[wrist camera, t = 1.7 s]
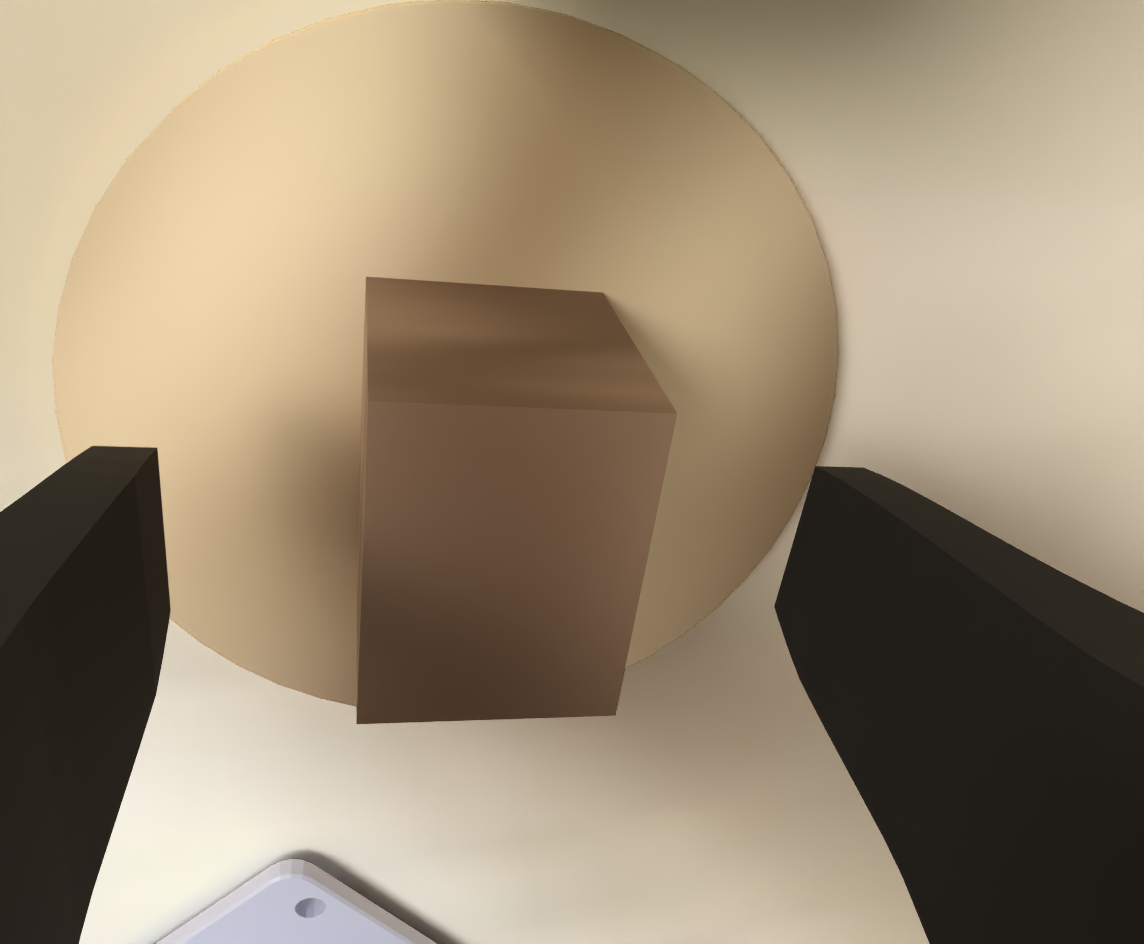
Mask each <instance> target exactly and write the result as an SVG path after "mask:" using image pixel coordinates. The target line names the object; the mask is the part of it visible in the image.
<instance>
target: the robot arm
mask: <svg viewBox="0 0 1144 944" xmlns="http://www.w3.org/2000/svg"><path fill="white" fill-rule="evenodd" d="M774 607H775V610H776V613H777V616H778V619H779V622H780V625H781V628H782V632H783V635H784V638H785V641H786V644H787V647H788V649H789V652H790V655H791V657H792V660H793V663H794V665H795V668H796V671H797V673H798V676H799V679H800V681H801V683H802V685H803V687H804V689H805V691H806V693H807V695H808V697H809V699H810V700H811V702H812V704H813V706H814V708H815V710H816V712H817V714H818V716H819V718H820V720H821V722H822V723H823V725H824V727H825V729H826V731H827V733H828V735H829V737H830V739H831V741H832V742H833V744H834V746H835V748H836V750H837V752H838V754H839V755H840V757H841V759H842V761H843V763H844V765H845V767H846V768H847V770H848V772H849V774H850V776H851V778H852V780H853V781H854V783H855V785H856V787H857V789H858V791H859V793H860V795H861V796H862V798H863V800H864V802H865V804H866V806H867V808H868V809H869V811H870V813H871V815H872V817H873V819H874V821H875V823H876V824H877V826H878V828H879V830H880V832H881V834H882V836H883V837H884V839H885V841H886V843H887V846H888V848H889V850H890V852H891V854H892V856H893V858H894V860H895V862H896V864H897V866H898V868H899V870H900V873H901V875H902V877H903V879H904V882H905V884H906V886H907V889H908V891H909V894H910V896H911V899H912V901H913V904H914V906H915V909H916V911H917V914H918V916H919V918H920V921H921V923H922V926H923V928H924V931H925V933H926V936H927V938H928V941H929V943H930V944H1144V613H1142V612H1140V611H1138V610H1136V609H1134V608H1132V607H1130V606H1127V605H1125V604H1123V603H1121V602H1119V601H1117V600H1115V599H1113V598H1111V597H1109V596H1107V595H1105V594H1103V593H1101V592H1099V591H1097V590H1095V589H1093V588H1091V587H1089V586H1087V585H1085V584H1083V583H1081V582H1079V581H1077V580H1076V579H1074V578H1072V577H1070V576H1068V575H1066V574H1064V573H1062V572H1060V571H1058V570H1056V569H1054V568H1052V567H1051V566H1049V565H1047V564H1045V563H1043V562H1041V561H1039V560H1037V559H1036V558H1034V557H1032V556H1030V555H1028V554H1026V553H1025V552H1023V551H1021V550H1019V549H1017V548H1015V547H1014V546H1012V545H1010V544H1008V543H1006V542H1005V541H1003V540H1001V539H999V538H997V537H996V536H994V535H992V534H990V533H988V532H987V531H985V530H983V529H981V528H980V527H978V526H976V525H974V524H972V523H971V522H969V521H967V520H965V519H964V518H962V517H960V516H958V515H956V514H955V513H953V512H951V511H949V510H947V509H946V508H944V507H942V506H940V505H938V504H937V503H935V502H933V501H931V500H929V499H928V498H926V497H924V496H922V495H920V494H918V493H916V492H914V491H912V490H911V489H909V488H907V487H905V486H903V485H901V484H899V483H897V482H895V481H893V480H891V479H889V478H887V477H884V476H882V475H880V474H878V473H875V472H873V471H870V470H868V469H865V468H855V467H820V466H815V469H814V473H813V476H812V480H811V483H810V487H809V490H808V493H807V497H806V500H805V504H804V507H803V510H802V514H801V517H800V521H799V524H798V528H797V531H796V534H795V538H794V541H793V545H792V548H791V551H790V555H789V558H788V562H787V565H786V569H785V572H784V575H783V579H782V582H781V586H780V589H779V592H778V596H777V599H776V603H775V606H774ZM170 611H171V608H170V596H169V584H168V572H167V559H166V547H165V535H164V523H163V510H162V498H161V486H160V474H159V461H158V449H157V448H152V447H117V446H91V447H90V448H88V449H86V450H85V451H83V452H82V453H80V454H79V455H77V456H76V457H75V458H73V459H72V460H70V461H69V462H68V463H66V464H65V465H64V466H62V467H61V468H60V469H58V470H57V471H56V472H54V473H53V474H51V475H50V476H49V477H47V478H46V479H45V480H43V481H42V482H41V483H39V484H38V485H37V486H35V487H34V488H33V489H31V490H30V491H29V492H27V493H26V494H25V495H23V496H22V497H21V498H19V499H18V500H17V501H15V502H14V503H12V504H11V505H10V506H8V507H7V508H5V509H4V510H3V511H1V512H0V944H79V940H80V936H81V932H82V928H83V925H84V921H85V917H86V914H87V910H88V907H89V903H90V899H91V896H92V892H93V889H94V886H95V882H96V879H97V876H98V873H99V870H100V867H101V864H102V861H103V858H104V855H105V852H106V849H107V846H108V842H109V839H110V836H111V833H112V830H113V827H114V824H115V821H116V818H117V815H118V812H119V809H120V805H121V802H122V799H123V796H124V793H125V790H126V787H127V784H128V781H129V778H130V775H131V772H132V769H133V765H134V762H135V759H136V756H137V753H138V750H139V747H140V744H141V740H142V737H143V734H144V731H145V728H146V725H147V722H148V718H149V715H150V712H151V709H152V705H153V702H154V699H155V696H156V691H157V686H158V681H159V675H160V670H161V664H162V659H163V653H164V647H165V641H166V635H167V629H168V623H169V617H170ZM156 944H437V943H435V942H434V941H432V940H431V939H429V938H427V937H426V936H424V935H423V934H421V933H420V932H418V931H417V930H415V929H413V928H412V927H410V926H409V925H407V924H406V923H404V922H403V921H401V920H399V919H398V918H396V917H395V916H393V915H392V914H390V913H389V912H387V911H385V910H384V909H382V908H381V907H379V906H378V905H376V904H374V903H373V902H371V901H370V900H368V899H367V898H365V897H364V896H362V895H360V894H359V893H357V892H356V891H354V890H353V889H351V888H350V887H348V886H346V885H345V884H343V883H342V882H340V881H339V880H337V879H336V878H334V877H332V876H331V875H329V874H328V873H326V872H325V871H323V870H321V869H320V868H318V867H317V866H315V865H314V864H312V863H309V862H307V861H305V860H301V859H288V860H282V861H280V862H278V863H275V864H273V865H271V866H270V867H268V868H267V869H265V870H264V871H262V872H261V873H259V874H258V875H256V876H255V877H253V878H252V879H250V880H249V881H247V882H246V883H244V884H243V885H242V886H240V887H239V888H237V889H236V890H234V891H233V892H231V893H230V894H228V895H227V896H225V897H224V898H222V899H221V900H219V901H218V902H216V903H215V904H213V905H212V906H210V907H209V908H207V909H206V910H204V911H203V912H202V913H200V914H199V915H197V916H196V917H194V918H193V919H191V920H190V921H188V922H187V923H185V924H184V925H182V926H181V927H179V928H178V929H176V930H175V931H173V932H172V933H170V934H169V935H167V936H166V937H164V938H163V939H161V940H160V941H159V942H157V943H156Z"/></svg>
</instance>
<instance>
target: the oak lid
mask: <svg viewBox="0 0 1144 944" xmlns="http://www.w3.org/2000/svg"><path fill="white" fill-rule="evenodd" d="M837 363H838V337H837V317H836V306H835V301H834V295H833V290H832V285H831V280H830V275H829V270H828V264H827V261H826V259H825V256H824V253H823V250H822V247H821V244H820V241H819V239H818V236H817V233H816V230H815V227H814V224H813V221H812V219H811V217H810V215H809V213H808V211H807V209H806V207H805V206H804V204H803V202H802V200H801V198H800V196H799V194H798V192H797V190H796V188H795V186H794V185H793V183H792V181H791V179H790V177H789V175H788V174H787V173H786V171H785V170H784V169H783V167H782V166H781V165H780V163H779V162H778V160H777V159H776V158H775V156H774V155H773V154H772V152H771V151H770V149H769V148H768V147H767V145H766V144H765V143H764V141H763V140H762V138H761V137H760V136H759V135H758V134H757V133H756V132H755V131H754V130H753V129H752V128H751V127H750V126H749V125H748V124H747V123H746V122H745V121H744V120H743V119H742V118H741V117H740V116H739V115H738V114H737V113H736V112H735V111H734V110H733V109H732V107H731V106H730V105H729V104H728V103H727V102H726V101H725V100H724V99H723V98H721V97H720V96H719V95H717V94H716V93H715V92H713V91H712V90H711V89H709V88H708V87H707V86H705V85H704V84H703V83H701V82H700V81H699V80H697V79H696V78H695V77H693V76H692V75H691V74H689V73H688V72H687V71H685V70H684V69H683V68H681V67H680V66H678V65H676V64H675V63H673V62H671V61H669V60H667V59H665V58H664V57H662V56H660V55H658V54H656V53H654V52H652V51H651V50H649V49H647V48H645V47H643V46H641V45H639V44H638V43H636V42H634V41H632V40H630V39H628V38H626V37H625V36H623V35H621V34H618V33H616V32H613V31H610V30H607V29H605V28H602V27H599V26H596V25H594V24H591V23H588V22H585V21H583V20H580V19H577V18H574V17H572V16H569V15H566V14H561V13H556V12H551V11H547V10H542V9H537V8H532V7H527V6H522V5H518V4H513V3H506V2H489V1H472V0H433V1H421V2H409V3H397V4H387V5H383V6H379V7H374V8H370V9H366V10H362V11H357V12H353V13H349V14H344V15H340V16H336V17H332V18H328V19H325V20H323V21H320V22H318V23H315V24H313V25H310V26H308V27H305V28H303V29H300V30H297V31H295V32H292V33H290V34H287V35H285V36H282V37H280V38H277V39H275V40H272V41H270V42H269V43H267V44H265V45H263V46H262V47H260V48H258V49H257V50H255V51H253V52H251V53H250V54H248V55H246V56H244V57H243V58H241V59H239V60H238V61H236V62H234V63H232V64H231V65H229V66H227V67H225V68H224V69H222V70H220V71H219V72H218V73H216V74H215V75H214V76H213V77H211V78H210V79H209V80H208V81H206V82H205V83H204V84H203V85H201V86H200V87H199V88H198V89H196V90H195V91H194V92H193V93H191V94H190V95H189V96H188V97H186V98H185V99H184V100H183V101H181V102H180V103H179V104H178V105H176V106H175V107H174V108H173V109H172V110H171V111H170V112H169V113H168V114H167V116H166V117H165V118H164V119H163V120H162V121H161V122H160V123H159V124H158V125H157V126H156V128H155V129H154V130H153V131H152V132H151V133H150V134H149V135H148V136H147V137H146V138H145V140H144V141H143V142H142V143H141V144H140V145H139V146H138V147H137V148H136V149H135V150H134V152H133V153H132V154H131V155H130V156H129V157H128V158H127V160H126V161H125V163H124V164H123V166H122V167H121V169H120V170H119V172H118V173H117V175H116V176H115V178H114V179H113V181H112V182H111V184H110V185H109V187H108V188H107V190H106V191H105V193H104V194H103V196H102V197H101V199H100V201H99V202H98V204H97V205H96V207H95V209H94V211H93V213H92V215H91V217H90V220H89V222H88V224H87V226H86V228H85V231H84V233H83V235H82V237H81V239H80V242H79V244H78V246H77V248H76V250H75V253H74V255H73V257H72V260H71V264H70V268H69V271H68V275H67V279H66V282H65V286H64V290H63V293H62V297H61V301H60V304H59V308H58V315H57V325H56V334H55V344H54V353H53V377H54V395H55V412H56V417H57V422H58V426H59V431H60V436H61V440H62V445H63V450H64V454H65V459H66V462H67V463H68V462H69V461H70V460H72V459H73V458H75V457H76V456H77V455H79V454H80V453H82V452H83V451H85V450H86V449H88V448H90V447H91V446H117V447H152V448H157V449H158V461H159V474H160V486H161V498H162V510H163V523H164V535H165V547H166V559H167V572H168V584H169V596H170V608H171V611H170V617H169V618H170V619H171V620H172V621H174V622H175V623H176V624H177V625H179V626H180V627H181V628H182V629H184V630H185V631H186V632H187V633H189V634H190V635H191V636H193V637H194V638H195V639H196V640H198V641H199V642H200V643H202V644H203V645H205V646H207V647H208V648H210V649H212V650H213V651H215V652H217V653H218V654H220V655H221V656H223V657H225V658H226V659H228V660H230V661H231V662H233V663H235V664H236V665H238V666H240V667H242V668H244V669H246V670H248V671H251V672H253V673H255V674H257V675H259V676H261V677H264V678H266V679H268V680H270V681H272V682H274V683H277V684H279V685H282V686H285V687H288V688H291V689H294V690H297V691H300V692H303V693H306V694H309V695H312V696H315V697H318V698H321V699H326V700H330V701H335V702H339V703H344V704H348V705H353V706H357V724H373V723H403V722H433V721H463V720H493V719H523V718H553V717H583V716H613V715H616V710H617V705H618V700H619V695H620V690H621V686H622V681H623V676H624V671H625V668H627V667H629V666H631V665H633V664H635V663H637V662H639V661H641V660H643V659H645V658H647V657H648V656H650V655H651V654H653V653H655V652H656V651H658V650H659V649H661V648H663V647H664V646H666V645H667V644H669V643H670V642H672V641H674V640H675V639H677V638H678V637H680V636H681V635H683V634H684V633H685V632H687V631H688V630H689V629H690V628H692V627H693V626H694V625H695V624H697V623H698V622H699V621H701V620H702V619H703V618H704V617H706V616H707V615H708V614H709V613H711V612H712V611H713V610H714V609H715V608H716V607H717V606H718V605H720V604H721V603H722V602H723V601H724V600H725V599H726V598H727V597H728V596H729V595H730V594H731V593H732V592H733V591H734V590H735V589H736V588H737V587H738V586H739V585H740V584H741V583H742V582H743V581H744V580H745V579H746V578H747V576H748V575H749V574H750V573H751V572H752V570H753V569H754V568H755V567H756V566H757V564H758V563H759V562H760V561H761V560H762V558H763V557H764V556H765V555H766V553H767V552H768V551H769V550H770V548H771V547H772V545H773V544H774V542H775V541H776V539H777V538H778V536H779V535H780V533H781V532H782V530H783V529H784V527H785V526H786V524H787V523H788V521H789V520H790V518H791V516H792V515H793V513H794V511H795V509H796V507H797V505H798V503H799V501H800V499H801V497H802V495H803V493H804V491H805V489H806V487H807V485H808V483H809V481H810V479H811V477H812V474H813V471H814V468H815V466H816V463H817V460H818V457H819V454H820V452H821V449H822V446H823V443H824V441H825V437H826V433H827V428H828V424H829V419H830V415H831V410H832V406H833V401H834V397H835V386H836V374H837Z"/></svg>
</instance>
